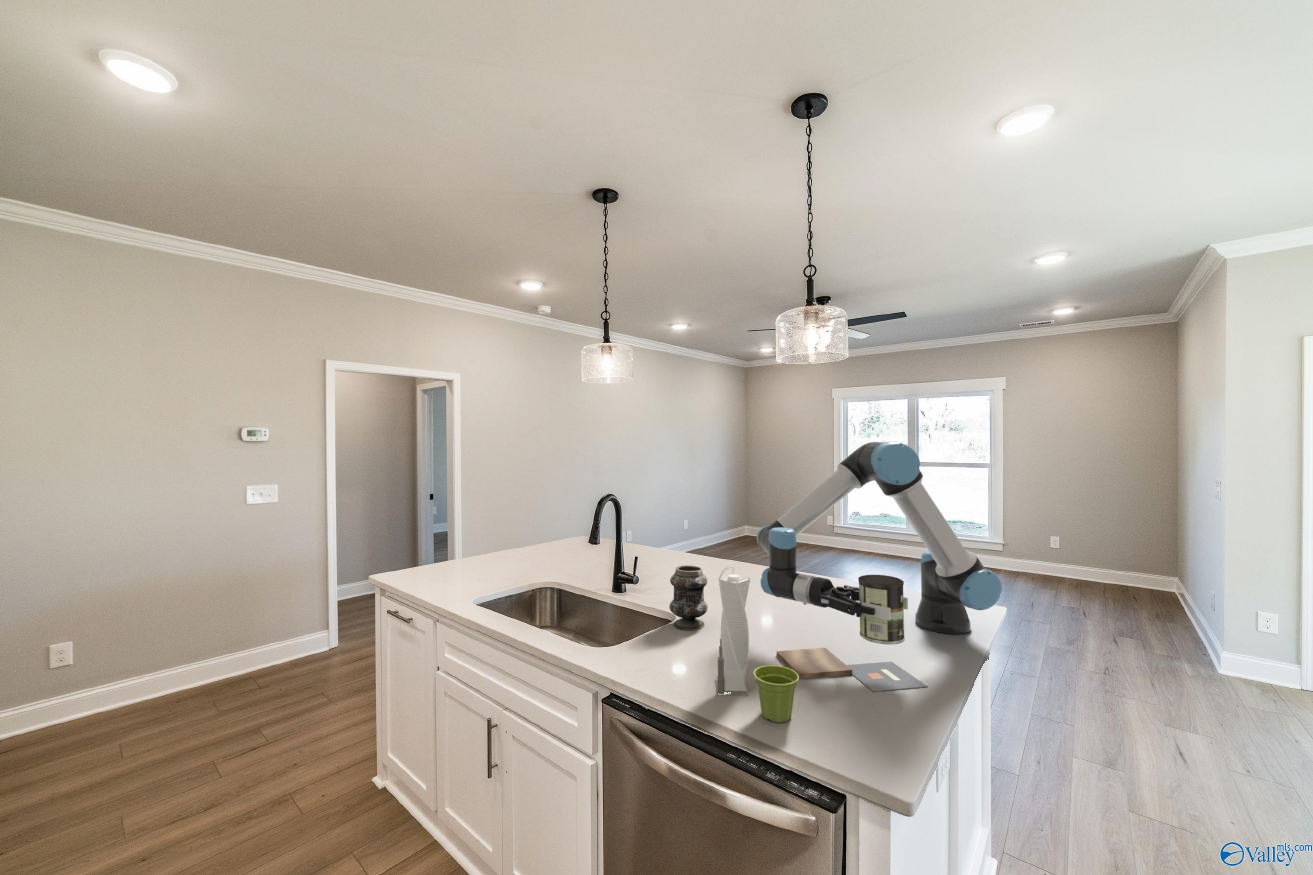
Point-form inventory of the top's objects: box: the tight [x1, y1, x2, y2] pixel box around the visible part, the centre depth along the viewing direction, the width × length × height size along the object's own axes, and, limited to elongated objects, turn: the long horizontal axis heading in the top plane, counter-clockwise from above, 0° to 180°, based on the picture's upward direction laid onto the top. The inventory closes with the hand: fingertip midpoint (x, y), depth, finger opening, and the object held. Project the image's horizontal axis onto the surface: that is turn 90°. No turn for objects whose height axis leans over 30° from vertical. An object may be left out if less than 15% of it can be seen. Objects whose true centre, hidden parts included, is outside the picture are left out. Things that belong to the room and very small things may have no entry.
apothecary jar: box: [668, 564, 709, 631], centre depth 164 cm, size 12×12×18 cm
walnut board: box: [776, 647, 853, 680], centre depth 135 cm, size 14×14×1 cm
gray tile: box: [846, 661, 929, 693], centre depth 128 cm, size 14×14×1 cm
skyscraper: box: [714, 565, 751, 696], centre depth 123 cm, size 8×8×28 cm
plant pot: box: [752, 664, 800, 723], centre depth 110 cm, size 9×9×9 cm
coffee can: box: [857, 574, 906, 645], centre depth 128 cm, size 10×10×14 cm
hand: (899, 608), depth 125 cm, fingers closed on coffee can, 10 cm apart
